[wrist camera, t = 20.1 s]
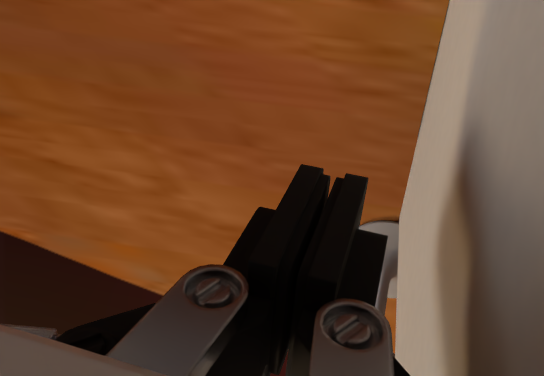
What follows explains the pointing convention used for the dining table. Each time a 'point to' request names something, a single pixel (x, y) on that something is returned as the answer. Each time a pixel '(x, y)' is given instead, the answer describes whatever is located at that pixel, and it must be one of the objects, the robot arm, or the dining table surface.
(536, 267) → the cooler lid
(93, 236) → the dining table surface
